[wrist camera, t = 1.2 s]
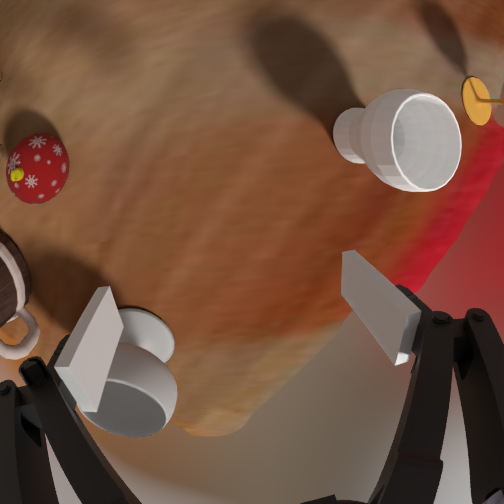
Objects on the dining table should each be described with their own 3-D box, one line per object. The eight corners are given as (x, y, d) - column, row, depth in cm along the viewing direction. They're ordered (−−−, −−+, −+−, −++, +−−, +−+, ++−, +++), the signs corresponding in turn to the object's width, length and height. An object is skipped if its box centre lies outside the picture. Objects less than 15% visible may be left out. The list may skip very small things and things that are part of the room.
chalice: (105, 287, 39) (69, 354, 26) (193, 321, 43) (191, 396, 30) (90, 353, 43) (65, 420, 30) (166, 380, 47) (160, 451, 34)
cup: (306, 133, 36) (363, 136, 22) (356, 82, 34) (426, 66, 20) (358, 189, 39) (425, 219, 26) (402, 138, 37) (477, 149, 24)
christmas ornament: (81, 130, 31) (43, 131, 22) (79, 195, 34) (44, 216, 25) (29, 135, 30) (-14, 139, 21) (29, 195, 33) (-11, 215, 24)
